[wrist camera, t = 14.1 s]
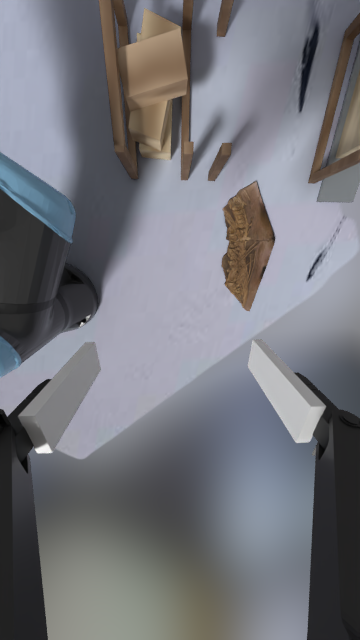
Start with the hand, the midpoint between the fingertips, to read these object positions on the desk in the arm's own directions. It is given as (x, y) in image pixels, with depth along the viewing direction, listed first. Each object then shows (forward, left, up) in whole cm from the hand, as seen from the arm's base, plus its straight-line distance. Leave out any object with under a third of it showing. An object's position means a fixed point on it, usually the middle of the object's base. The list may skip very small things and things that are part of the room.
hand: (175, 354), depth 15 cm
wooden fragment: (+16, +7, -27) cm, 32 cm away
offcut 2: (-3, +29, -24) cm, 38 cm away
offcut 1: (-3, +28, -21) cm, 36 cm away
